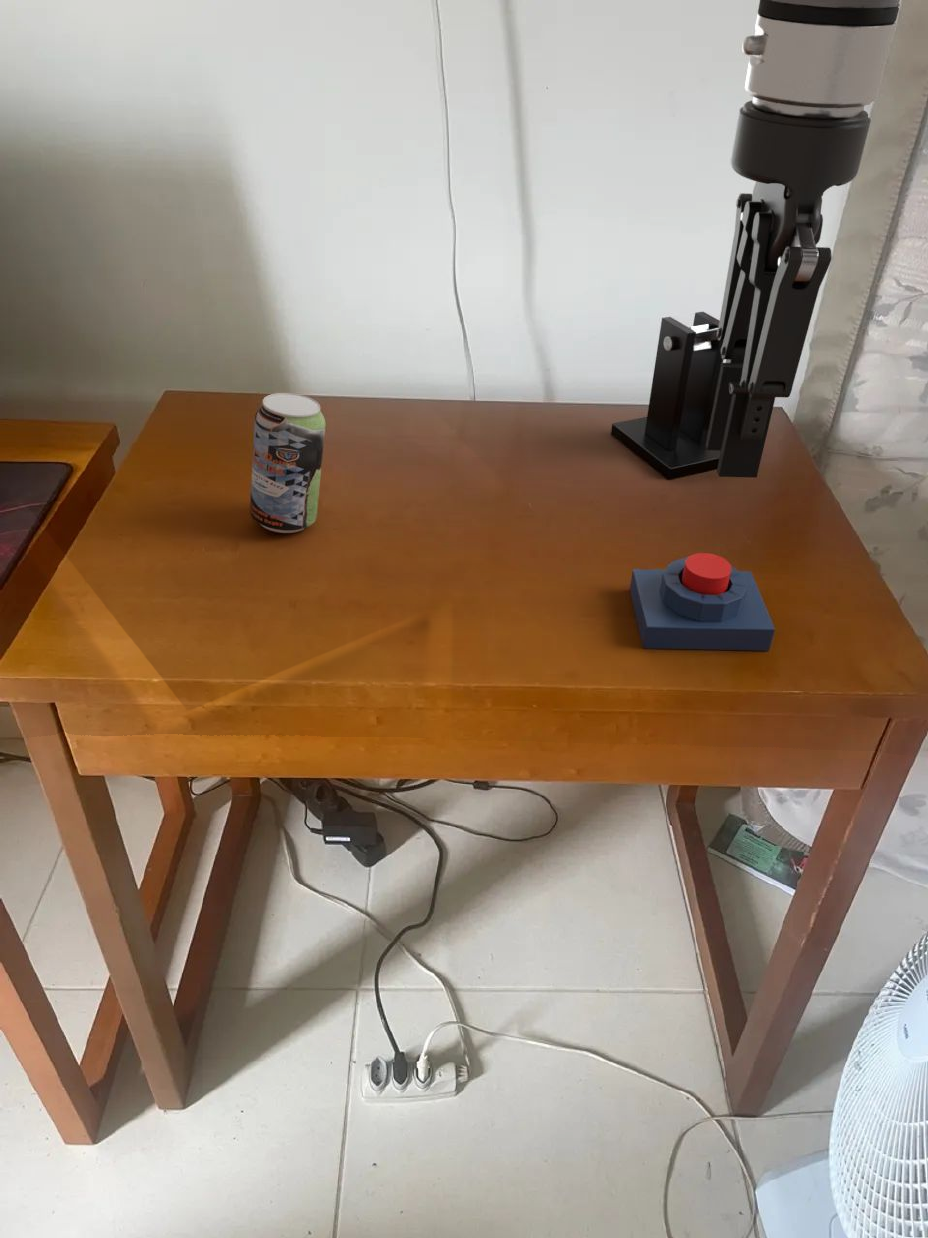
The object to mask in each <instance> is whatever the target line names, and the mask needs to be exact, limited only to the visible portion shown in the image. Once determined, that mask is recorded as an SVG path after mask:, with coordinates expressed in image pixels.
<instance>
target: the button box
mask: <svg viewBox="0 0 928 1238" xmlns="http://www.w3.org/2000/svg"><path fill="white" fill-rule="evenodd" d="M688 557H689V556H686V557H683V558H679V559H676V560H674V561H671V562H670V563H669V564H668V565H667V566H666V568H665V569H656V568H655V569H653V568H652V569H650V568H649V569H648V568H647V569H646V568H644V569H643V568H633V569H632V573H631V579H630V585H629V593H630V597H631V601H632V605H633V610H634V615H635V618H636V623H637V627H638V631H639V636H640V640H641V645H642V648H643V649H651V650H652V649H653V650H656V649H657V650H700V651H706V650H707V651H752V652H755V651H756V652H757V651H758V652H760V651H761V652H769V651H770V649H771V646H772V642H773V639H774V636H775V631H776V628H775V626H774V623H773V621H772V618H771V616H770V614H769V611H768V609H767V606H766V604H765V601H764V599H763V597H762V595H761V592H760V590H759V587H758V584H757V581H756V580H755V577H754V575H753V572H752V571H747V570H746V571H745V570H738V569H737V568H735V567H734V566H732V565H731V574H730V578H729V583H728V587H727V590H726V591H725V592H724V593H722V594H719V595H702V594H699V593H696V592H693V591H690V590H689V589H687V588H686V587H685V586H684V585H683V583H682V576H683V570H684V565H685V561H686V559H687V558H688Z"/></svg>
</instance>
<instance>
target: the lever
mask: <svg viewBox="0 0 928 1238" xmlns="http://www.w3.org/2000/svg"><path fill="white" fill-rule="evenodd" d="M688 327H689V328H690V329H692V330H694V331H695V332H696V336H695V342H694V348H693V353H694V352H699V351H703V350H708V349H711V341H713V340H718V338H717V330H718V328H715V329H711V330H709V324H704V325H698V326H693V325H692V326H688Z"/></svg>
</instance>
